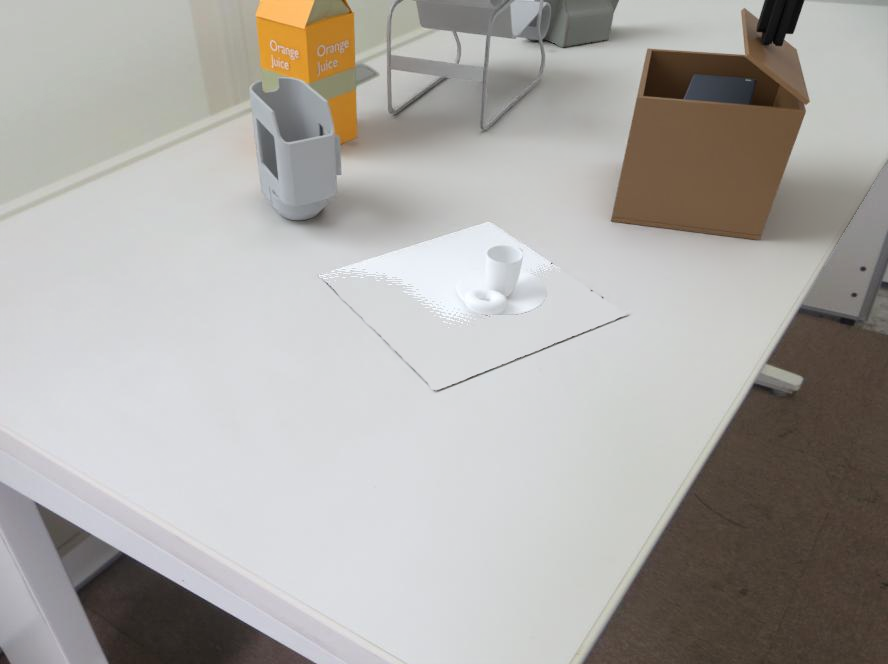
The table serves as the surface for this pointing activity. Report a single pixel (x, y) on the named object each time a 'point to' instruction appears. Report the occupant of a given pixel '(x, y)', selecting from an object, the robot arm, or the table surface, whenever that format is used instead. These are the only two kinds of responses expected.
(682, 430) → the table surface
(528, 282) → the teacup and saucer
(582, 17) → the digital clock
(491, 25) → the chair
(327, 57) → the orange juice
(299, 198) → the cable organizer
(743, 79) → the small box
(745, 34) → the flap
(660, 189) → the carton
